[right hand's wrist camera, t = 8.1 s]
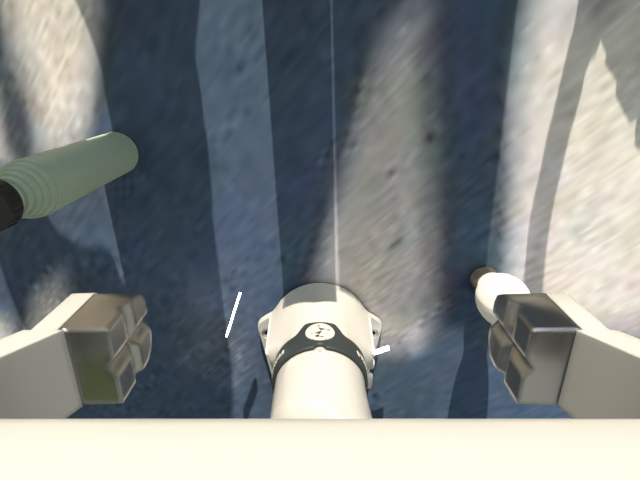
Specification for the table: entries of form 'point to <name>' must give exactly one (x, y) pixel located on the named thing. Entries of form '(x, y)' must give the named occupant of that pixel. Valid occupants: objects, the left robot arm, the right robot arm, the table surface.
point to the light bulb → (493, 289)
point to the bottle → (69, 172)
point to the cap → (9, 205)
